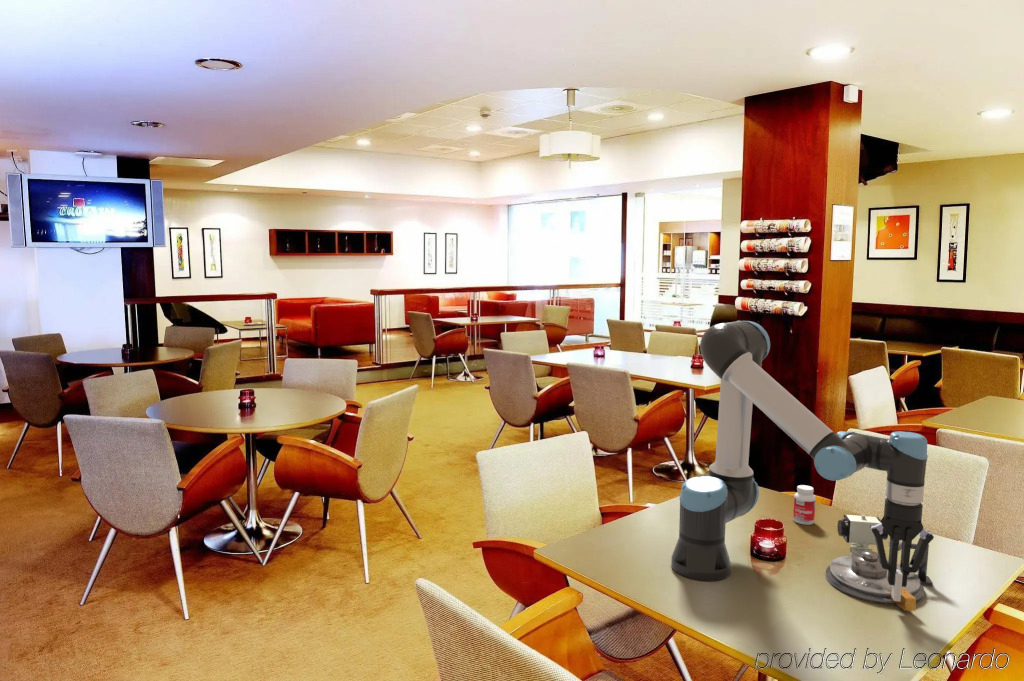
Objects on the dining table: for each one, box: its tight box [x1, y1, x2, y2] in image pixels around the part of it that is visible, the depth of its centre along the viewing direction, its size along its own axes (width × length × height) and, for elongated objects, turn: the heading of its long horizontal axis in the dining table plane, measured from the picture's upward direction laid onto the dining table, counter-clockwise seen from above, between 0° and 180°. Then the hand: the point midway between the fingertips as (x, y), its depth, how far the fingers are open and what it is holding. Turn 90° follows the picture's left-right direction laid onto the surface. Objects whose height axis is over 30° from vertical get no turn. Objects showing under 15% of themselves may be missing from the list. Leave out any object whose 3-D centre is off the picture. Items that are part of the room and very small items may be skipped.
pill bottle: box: [792, 484, 817, 526], centre depth 215 cm, size 6×6×11 cm
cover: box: [851, 550, 889, 579], centre depth 173 cm, size 8×8×5 cm
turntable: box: [829, 555, 920, 612], centre depth 171 cm, size 20×26×3 cm
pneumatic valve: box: [837, 514, 889, 556], centre depth 189 cm, size 6×12×12 cm, turn 78°
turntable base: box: [825, 565, 925, 606], centre depth 174 cm, size 22×22×1 cm
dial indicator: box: [887, 538, 934, 587], centre depth 176 cm, size 10×4×11 cm, turn 73°
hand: (895, 598), depth 160 cm, fingers closed
